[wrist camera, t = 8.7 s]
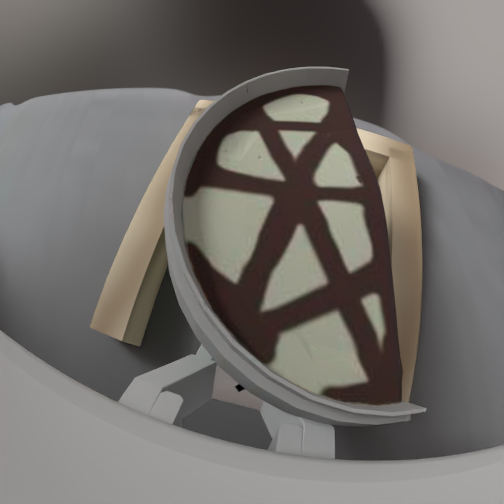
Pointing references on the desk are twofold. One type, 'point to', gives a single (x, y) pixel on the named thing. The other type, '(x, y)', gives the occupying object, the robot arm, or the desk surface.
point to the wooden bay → (155, 259)
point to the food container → (288, 250)
